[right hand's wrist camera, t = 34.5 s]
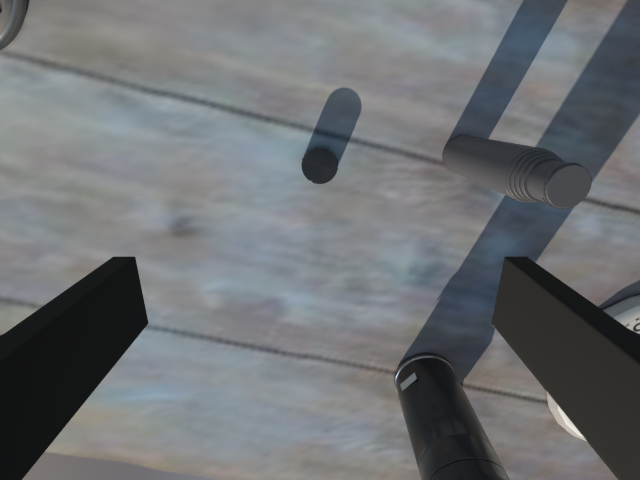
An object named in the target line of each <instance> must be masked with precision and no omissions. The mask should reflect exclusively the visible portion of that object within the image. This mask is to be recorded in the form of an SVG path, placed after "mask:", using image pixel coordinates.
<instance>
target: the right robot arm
mask: <svg viewBox="0 0 640 480" xmlns="http://www.w3.org/2000/svg"><path fill="white" fill-rule="evenodd" d="M26 7H27V0H0V50H1V49H3V48H4V47H6V46H7V45H8V44H9V43H10V42H11V41H12V40H13V39H14V38H15V37H16V35H17V34H18V32H19V31H20V28H21V26H22V24H23V21H24V18H25V13H26ZM147 324H148V319H147V314H146V309H145V304H144V299H143V294H142V289H141V284H140V279H139V274H138V269H137V264H136V259H135V257H112V258H111V259H110V260H108V261H107V262H105V263H104V264H103V265H101V266H100V267H98V268H97V269H95V270H94V271H93V272H91V273H90V274H88V275H87V276H86V277H84V278H83V279H81V280H80V281H78V282H77V283H76V284H74V285H73V286H71V287H70V288H68V289H67V290H66V291H64V292H63V293H61V294H60V295H59V296H57V297H56V298H54V299H53V300H51V301H50V302H49V303H47V304H46V305H44V306H43V307H42V308H40V309H39V310H37V311H36V312H34V313H33V314H32V315H30V316H29V317H27V318H26V319H25V320H23V321H22V322H20V323H19V324H17V325H16V326H15V327H13V328H12V329H10V330H9V331H8V332H6V333H5V334H3V335H1V336H0V480H22V479H23V477H24V476H25V475H26V474H27V473H28V471H29V470H30V469H31V468H32V466H33V465H34V464H35V463H36V461H37V460H38V459H39V458H40V456H41V455H42V454H43V453H44V452H45V450H46V449H47V448H48V447H49V445H50V444H51V443H52V442H53V440H54V439H55V438H56V437H57V435H58V434H59V433H60V432H61V431H62V429H63V428H64V427H65V426H66V424H67V423H68V422H69V421H70V419H71V418H72V417H73V416H74V414H75V413H76V412H77V411H78V410H79V408H80V407H81V406H82V405H83V403H84V402H85V401H86V400H87V398H88V397H89V396H90V395H91V393H92V392H93V391H94V390H95V388H96V387H97V386H98V385H99V384H100V382H101V381H102V380H103V379H104V377H105V376H106V375H107V374H108V372H109V371H110V370H111V369H112V367H113V366H114V365H115V364H116V363H117V361H118V360H119V359H120V358H121V356H122V355H123V354H124V353H125V351H126V350H127V349H128V348H129V346H130V345H131V344H132V343H133V342H134V340H135V339H136V338H137V337H138V335H139V334H140V333H141V332H142V330H143V329H144V328H145V327H146V325H147ZM492 324H493V325H494V327H495V328H496V329H497V330H498V332H499V333H500V334H501V335H502V337H503V338H504V339H505V340H506V342H507V343H508V344H509V345H510V346H511V348H512V349H513V350H514V351H515V353H516V354H517V355H518V356H519V358H520V359H521V360H522V361H523V363H524V364H525V365H526V366H527V367H528V369H529V370H530V371H531V372H532V374H533V375H534V376H535V377H536V379H537V380H538V381H539V382H540V384H541V385H542V386H543V387H544V388H545V390H546V391H547V392H548V393H549V395H550V396H551V397H552V398H553V400H554V401H555V402H556V403H557V405H558V406H559V407H560V408H561V410H562V411H563V412H564V413H565V414H566V416H567V417H568V418H569V419H570V421H571V422H572V423H573V424H574V426H575V427H576V428H577V429H578V431H579V432H580V433H581V434H582V435H583V437H584V438H585V439H586V440H587V442H588V443H589V444H590V445H591V447H592V448H593V449H594V450H595V452H596V453H597V454H598V455H599V456H600V458H601V459H602V460H603V461H604V463H605V464H606V465H607V466H608V468H609V469H610V470H611V471H612V473H613V474H614V475H615V476H616V477H617V479H618V480H640V334H638V333H636V332H634V331H632V330H630V329H628V328H627V327H625V326H624V325H623V324H621V323H620V322H618V321H617V320H615V319H614V318H613V317H611V316H610V315H608V314H607V313H606V312H604V311H603V310H601V309H600V308H598V307H597V306H596V305H594V304H593V303H591V302H590V301H589V300H587V299H586V298H584V297H583V296H581V295H580V294H579V293H577V292H576V291H574V290H573V289H571V288H570V287H569V286H567V285H566V284H564V283H563V282H562V281H560V280H559V279H557V278H556V277H554V276H553V275H552V274H550V273H549V272H547V271H546V270H545V269H543V268H542V267H540V266H539V265H537V264H536V263H535V262H533V261H532V260H530V259H529V258H528V257H505V259H504V264H503V269H502V274H501V279H500V284H499V289H498V294H497V299H496V304H495V309H494V314H493V319H492Z"/></svg>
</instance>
